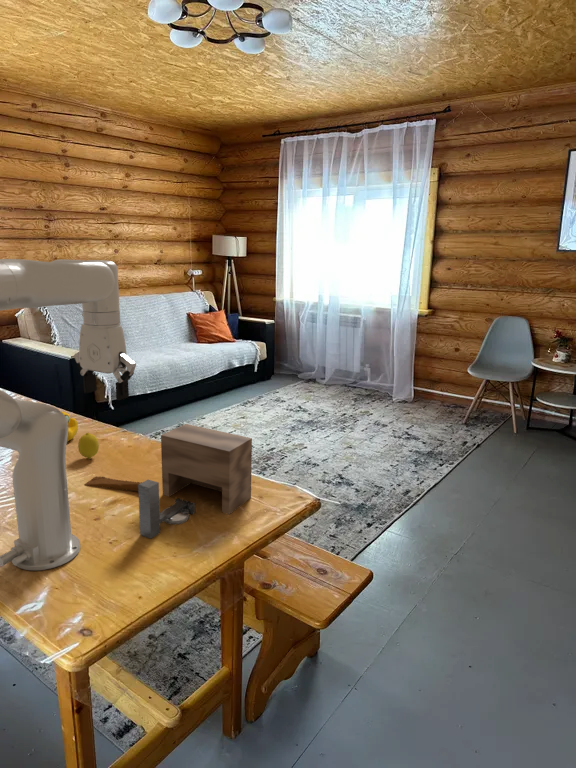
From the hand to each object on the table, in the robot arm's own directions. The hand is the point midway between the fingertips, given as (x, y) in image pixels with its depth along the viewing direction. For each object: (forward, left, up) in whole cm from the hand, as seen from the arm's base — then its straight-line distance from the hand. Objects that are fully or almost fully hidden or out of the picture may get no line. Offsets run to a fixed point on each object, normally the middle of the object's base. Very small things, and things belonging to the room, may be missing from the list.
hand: (106, 395), depth 119 cm
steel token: (+4, -15, -28) cm, 33 cm away
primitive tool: (+9, +7, -29) cm, 31 cm away
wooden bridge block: (+17, -15, -28) cm, 36 cm away
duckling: (+25, +45, -29) cm, 59 cm away
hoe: (+2, -15, -28) cm, 32 cm away
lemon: (+19, +28, -28) cm, 44 cm away
